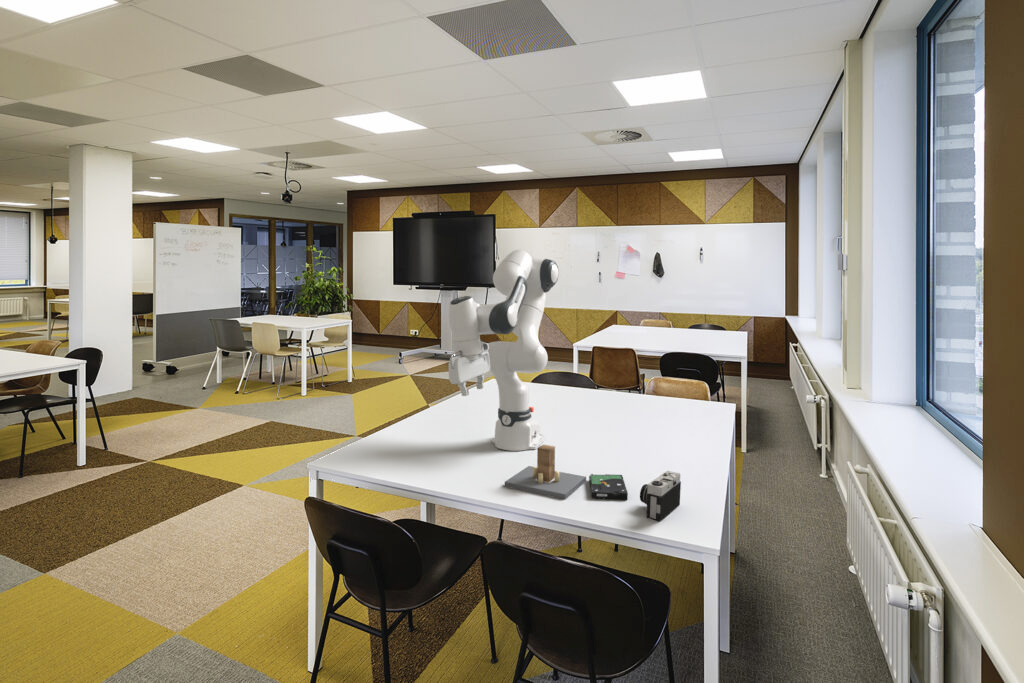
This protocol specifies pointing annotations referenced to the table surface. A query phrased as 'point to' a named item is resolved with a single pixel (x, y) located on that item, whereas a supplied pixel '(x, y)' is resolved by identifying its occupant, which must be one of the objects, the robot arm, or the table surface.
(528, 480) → the standoff plate
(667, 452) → the table surface
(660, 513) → the camera
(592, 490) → the disk drive
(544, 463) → the walnut block
